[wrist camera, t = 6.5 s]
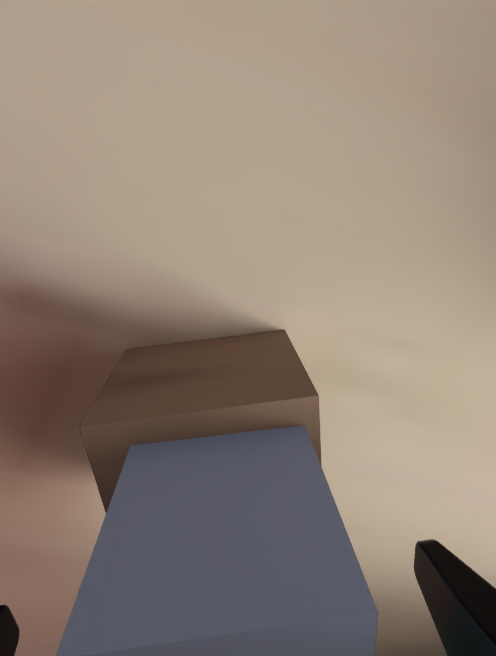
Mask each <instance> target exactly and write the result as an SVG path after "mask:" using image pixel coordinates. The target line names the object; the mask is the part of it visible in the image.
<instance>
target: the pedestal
mask: <svg viewBox="0 0 496 656" xmlns="http://www.w3.org/2000/svg"><path fill="white" fill-rule="evenodd" d="M301 425H305V427H306V429H307V432H308V434H309V437H310V439H311V442H312V445H313V447H314V450H315V452H316V455H317V457H318V460H319V463H320V465H321V445H320V420H319V395H318V393H317V392H316V390H315V388H314V386H313V384H312V382H311V380H310V378H309V376H308V374H307V372H306V370H305V368H304V366H303V364H302V362H301V360H300V358H299V357H298V355H297V353H296V351H295V349H294V347H293V345H292V343H291V341H290V339H289V337H288V335H287V333H286V331H285V330H279V331H271V332H263V333H255V334H247V335H239V336H231V337H223V338H215V339H207V340H199V341H191V342H183V343H175V344H167V345H159V346H151V347H143V348H135V349H127V350H126V351H125V353H124V354H123V356H122V358H121V359H120V361H119V363H118V364H117V366H116V367H115V369H114V371H113V372H112V374H111V376H110V377H109V379H108V380H107V382H106V384H105V385H104V387H103V389H102V390H101V392H100V394H99V395H98V397H97V398H96V400H95V402H94V403H93V405H92V407H91V408H90V410H89V411H88V413H87V415H86V416H85V418H84V420H83V421H82V423H81V425H80V426H79V429H80V432H81V436H82V439H83V442H84V445H85V448H86V451H87V455H88V458H89V461H90V464H91V467H92V470H93V474H94V477H95V480H96V483H97V486H98V489H99V493H100V496H101V499H102V502H103V505H104V508H105V512H106V513H107V510H108V508H109V505H110V502H111V499H112V496H113V493H114V491H115V488H116V485H117V482H118V479H119V477H120V474H121V471H122V468H123V465H124V462H125V460H126V457H127V454H128V451H129V448H130V446H131V445H140V444H148V443H156V442H165V441H173V440H182V439H190V438H199V437H207V436H216V435H224V434H233V433H241V432H250V431H258V430H267V429H275V428H284V427H292V426H301Z"/></svg>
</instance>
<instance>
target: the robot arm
mask: <svg viewBox="0 0 496 656" xmlns="http://www.w3.org/2000/svg"><path fill="white" fill-rule="evenodd" d="M414 571H415V575H416V579H417V581H418V584H419V586H420V589H421V591H422V594H423V596H424V599H425V601H426V604H427V606H428V608H429V611H430V613H431V616H432V618H433V621H434V623H435V626H436V628H437V631H438V633H439V636H440V638H441V641H442V643H443V646H444V648H445V651H446V653H447V655H448V656H496V589H495V588H494V587H493V586H492V585H491V584H489V583H488V582H487V581H486V580H484V579H483V578H482V577H481V576H480V575H478V574H477V573H476V572H475V571H473V570H472V569H471V568H470V567H469V566H467V565H466V564H465V563H464V562H462V561H461V560H460V559H459V558H458V557H456V556H455V555H454V554H453V553H451V552H450V551H449V550H448V549H447V548H445V547H444V546H443V545H442V544H440V543H439V542H438V541H436V540H433V539H430V540H424V541H418V542H417V543H416V546H415V558H414ZM18 640H19V627H18V625H17V623H16V621H15V619H14V617H13V615H12V613H11V611H10V609H9V607H8V606H7V605H0V656H14V655H15V651H16V648H17V644H18Z"/></svg>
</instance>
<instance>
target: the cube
mask: <svg viewBox="0 0 496 656" xmlns="http://www.w3.org/2000/svg"><path fill="white" fill-rule="evenodd" d="M377 618H378V611H377V609H376V606H375V603H374V601H373V598H372V596H371V593H370V591H369V588H368V585H367V583H366V580H365V578H364V575H363V573H362V570H361V568H360V565H359V562H358V560H357V557H356V555H355V552H354V550H353V547H352V545H351V542H350V539H349V537H348V534H347V532H346V529H345V527H344V524H343V521H342V519H341V516H340V514H339V511H338V509H337V506H336V504H335V501H334V498H333V496H332V493H331V491H330V488H329V486H328V483H327V480H326V478H325V475H324V473H323V470H322V468H321V465H320V463H319V460H318V457H317V455H316V452H315V450H314V447H313V445H312V442H311V439H310V437H309V434H308V432H307V429H306V427H305V425H301V426H292V427H284V428H275V429H267V430H258V431H250V432H241V433H233V434H224V435H216V436H207V437H199V438H190V439H182V440H173V441H165V442H156V443H148V444H140V445H131V446H130V448H129V451H128V454H127V457H126V460H125V462H124V465H123V468H122V471H121V474H120V477H119V479H118V482H117V485H116V488H115V491H114V493H113V496H112V499H111V502H110V505H109V508H108V510H107V513H106V516H105V519H104V522H103V524H102V527H101V530H100V533H99V536H98V539H97V541H96V544H95V547H94V550H93V553H92V556H91V558H90V561H89V564H88V567H87V570H86V572H85V575H84V578H83V581H82V584H81V587H80V589H79V592H78V595H77V598H76V601H75V604H74V606H73V609H72V612H71V615H70V618H69V620H68V623H67V626H66V629H65V632H64V635H63V637H62V640H61V643H60V646H59V649H58V651H57V654H56V656H375V648H376V633H377Z"/></svg>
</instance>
